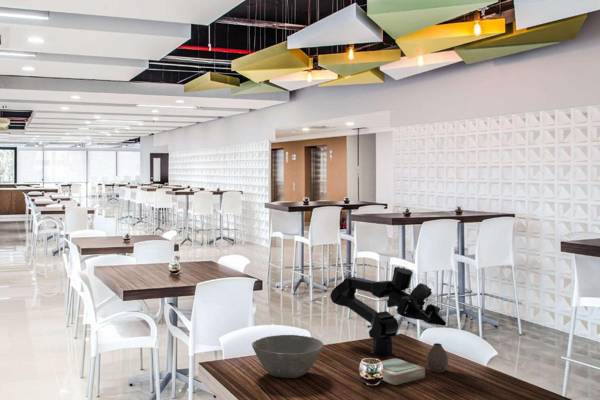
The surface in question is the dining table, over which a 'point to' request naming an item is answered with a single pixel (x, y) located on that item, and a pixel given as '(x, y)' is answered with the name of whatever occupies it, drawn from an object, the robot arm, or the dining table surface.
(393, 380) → the plinth
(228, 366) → the dining table surface
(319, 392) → the dining table surface
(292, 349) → the ceramic bowl
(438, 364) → the vase
